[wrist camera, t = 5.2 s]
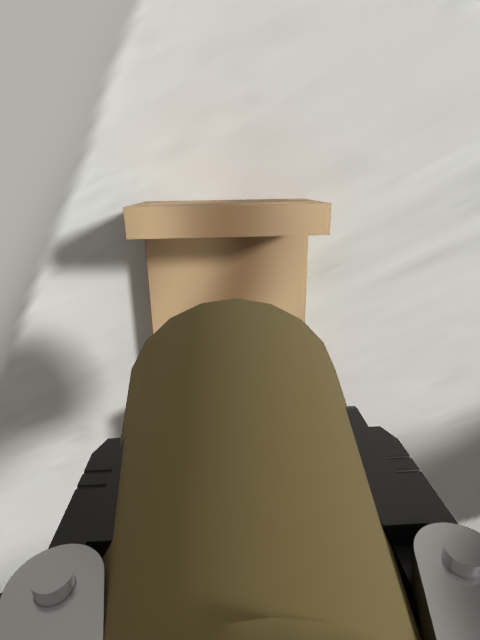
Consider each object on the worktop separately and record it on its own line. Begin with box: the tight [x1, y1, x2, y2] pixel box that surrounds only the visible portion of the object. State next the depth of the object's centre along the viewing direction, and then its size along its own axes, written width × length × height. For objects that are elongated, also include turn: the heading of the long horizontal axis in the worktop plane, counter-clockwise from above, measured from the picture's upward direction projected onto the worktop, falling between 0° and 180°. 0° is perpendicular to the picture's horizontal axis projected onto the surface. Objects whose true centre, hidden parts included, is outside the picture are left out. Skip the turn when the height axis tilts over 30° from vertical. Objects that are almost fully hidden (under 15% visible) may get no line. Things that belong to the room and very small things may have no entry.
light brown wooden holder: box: [123, 199, 331, 334], centre depth 21 cm, size 8×17×5 cm, turn 1°
